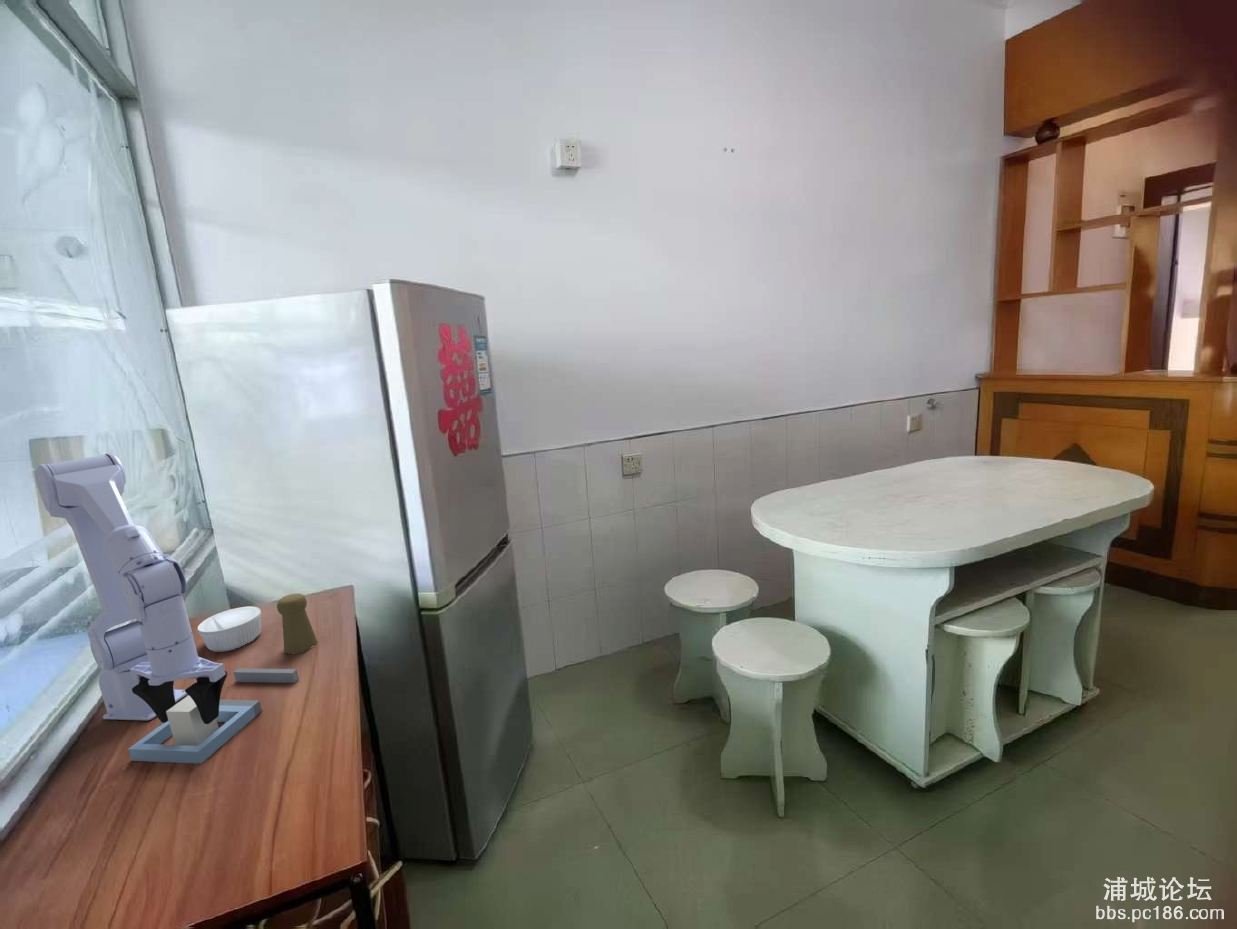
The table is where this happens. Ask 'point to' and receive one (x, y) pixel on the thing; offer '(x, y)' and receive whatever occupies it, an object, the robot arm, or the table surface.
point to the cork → (295, 624)
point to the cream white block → (189, 723)
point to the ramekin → (231, 628)
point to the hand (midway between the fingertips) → (190, 719)
